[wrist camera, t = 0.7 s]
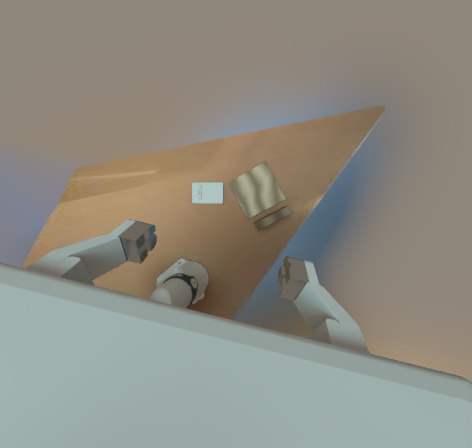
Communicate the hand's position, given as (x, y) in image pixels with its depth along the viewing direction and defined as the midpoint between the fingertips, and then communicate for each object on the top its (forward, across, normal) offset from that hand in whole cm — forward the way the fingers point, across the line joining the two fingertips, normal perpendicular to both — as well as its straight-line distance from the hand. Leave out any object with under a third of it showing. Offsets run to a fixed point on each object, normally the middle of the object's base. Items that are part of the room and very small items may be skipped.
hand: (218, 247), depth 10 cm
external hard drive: (+53, -14, -24) cm, 60 cm away
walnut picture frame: (+49, +12, -26) cm, 57 cm away
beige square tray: (+54, +4, -19) cm, 57 cm away
